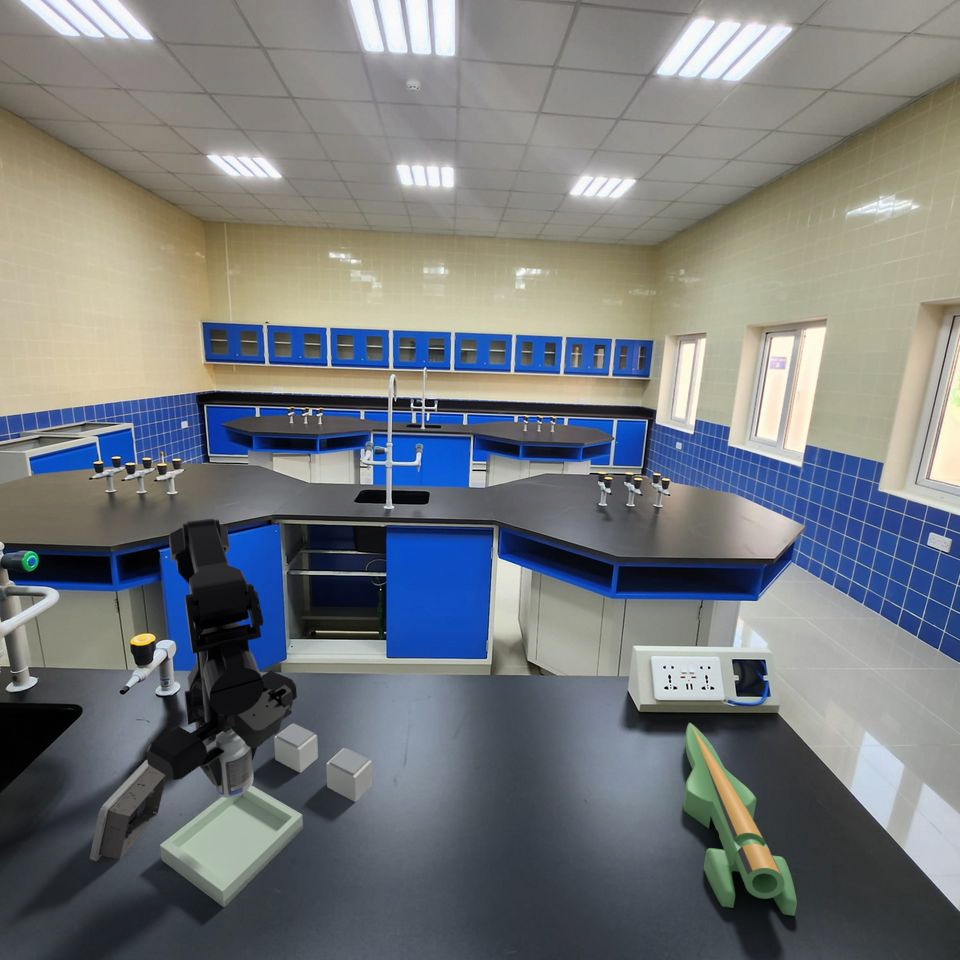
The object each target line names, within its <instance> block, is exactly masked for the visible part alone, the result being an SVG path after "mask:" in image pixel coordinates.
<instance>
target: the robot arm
mask: <svg viewBox="0 0 960 960" xmlns="http://www.w3.org/2000/svg"><path fill="white" fill-rule="evenodd" d="M168 536H169V538H168V540H169V543H168V544H169V554H170V560H171V562H175V564H176V565H175V566H176V569H177V572H178V574H179V575H180V577H181V578H182V579H183V580H185V582H186V583H187V584H188V590H189V594H185V595H184V603H185V604H184V605H185V612H186V613H185V614H186V620H187V627H188V634H189V641H190V642H189V643H190V648H191V652H192V654H193V655H194V654H195V664H194V665H193V668H192V669H191V670H190V672H189V674H188V676H187V685H188V690H185V691H184V706H185V707H184V708H185V713H186V720H187V725H188V726H190V725H192V724H194V723H195V725H194V726H195V730H193V731H192V732H190V731H187V730H186V729H184V728H182V727H180V726H177V727H176V728H174V729H172V730H171V731H169V732H167V733H165V734H164V735H162V736H160V737H159V738H157V739H156V740H154V741H153V742H151V743H150V745H148V746H147V749H146V760H147V761H148V765H150V766H152V768H155V769H156V770H158V771H160V772H161V773H163V774H164V775H166V777H168V778H169V779H171V780H172V781H176V780H182V779H183V778H185V777H186V776H188V775H189V774H190V773H192V772H193V771H195V770H196V769H197V768H199V767H200V769H201V770H202V771H203V773H204V774H205V775H206V776H207V778H208V779H209V780H210V781H209V782H211V784H212V785H213V786H215V787H216V786H217V787H219V786H220V785H221V770H220V761H219V756H220V755H222V754H223V753H224V750H222V749H220V748H218V747H216V737H218V736H219V735H221V734H222V733H224V732H225V733H226V732H227V731H229V730H230V729H232V730H233V731H234V732H235V733H236V734H237V735H238V736H239V737H240V738H241V739H242V740H243V741H244V742H245V744H246V745H247V746H248V747H251V752H252V762H253V761H254V758H255V756H256V751H257V749H258V747H260V746H261V745H263V743H264V742H266V741H267V740H269V739H270V738H271V737H272V736H274V735H276V734H277V733H278V734H279V733H280V729H281V727H282V723H283V720H284V719H287V718H288V717H289V716H290V715H292V706H293V703H294V702H293V701H295V700H296V699H297V698H298V690H297V689H298V688H297V685H298V684H297V683H296V681H294V679H292V678H289V677H287V676H286V675H285V676H284V675H282V674H280V673H279V672H278V673H277V672H275V671H272V670H269V671H267V672H266V673H265V674H262V675H261V672H260V669H259V667H258V665H257V661H256V659H255V657H254V655H253V653H252V652H251V650H250V647H249V641H251V640H255V639H259V638H260V639H261V638H262V632H261V626H263V624H264V617H263V614H262V608H261V603H260V599H259V594H258V591H257V590H256V589H255V587H254V585H252V583H250V582H249V583H248V582H247V579H246V577H245V575H244V573H243V571H242V569H239V568H237V567H233V566H231V565H230V563H229V560H228V558H227V555H226V554H228V552H230V551H229V550H230V547H231V546H230V539H229V533H228V527H227V526H225V525H223V524H221V523H220V521H219V519H215V518H208V519H199V520H190V521H187V522H185V523H182V525H181V527H180V528H179V529H176V530H175V531H172V532H170V533H169V535H168ZM249 618H250V622H251V624H250V623H246V624H239V623H240V622H245V621H247V620H249Z"/></svg>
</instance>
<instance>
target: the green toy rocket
mask: <svg viewBox="0 0 960 960" xmlns="http://www.w3.org/2000/svg"><path fill="white" fill-rule="evenodd" d="M684 737H685V738H684V746H685V749H686V751H685V753H686V756H687V759H688V761H689V764H690V766H691V769H692V770H691V772H690V774H689V776H688V777H687V779H686V782H685V788H684V796H683V804H682V805H683V806H682V807H683V811H684V812H685V813H686V814H687V815H689V816H691V817H692V818H693V819H695V820H696V821H697V822H699V823H701V824H702V825H703V826H705V827H706V828H707V829H710V824H711V823H710V822H711V820H712V823H713V825H714V826H715V830H716V832H718V835H719V836H718V837H719V840H720V842H721V845H722V848H723V849H720V848H712V847H710V848H707V849H706V851H705V857H704V864H703V871H704V874H705V876H706V878H707V880H708V883H709V885H710V887H711V889H712V890H713V893H714V895H715V897H716V898H717V901H718V902H719V904H720V906H721V907H723V908H731V909H733V908H734V905H735V900H736V891H735V886H734V885H735V884H734V879H733V874H732V873H733V872H739V874H740V876H741V879H742V881H743V883H744V887H745V889H746V890H747V892H748V893H749V894H751V895H752V896H754V897H755V898H758V899H766V900H767V899H771V898H773V900H774V901H775V904H776V905H777V907H778V909H779V910H780V912H781V913H782V914H783V915H787V916H793V917H795V916H796V909H797V905H798V903H797V902H798V901H797V895H796V891H795V886H794V881H793V878H792V874H791V872H790V868H789V866H788V864H787V861H786V859H785V858H784V857H783V856H778V855H772V852H771V850H770V848H769V846H768V845H767V843H766V841H765V839H764V838H763V835H762V833H761V832H760V829H759V828H758V826H757V824H756V822H755V821H754V816H755V810H756V806H757V805H756V804H757V797H756V796H755V794H754V793H753V792H752V791H751V790H750V789H749V788H748V787H747V786H746V785H745V784H744V783H742V782H741V780H739V779H738V778H736V776H734V775H733V774H732V773H731V772H729V771H728V769H726V768H725V766H724V764H723V763H722V761H721V759H720V756H719V754H718V753H717V751H716V750H715V748H714V746H713V744H711V743H710V741H709V740H708V738H707V737H706V736H705V735H704V734H703V732H701V731H700V730H699V728H697V727H696V726H695V725H694V724H692V723H691V722H688V724H687V727H686V731H685V736H684Z"/></svg>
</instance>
